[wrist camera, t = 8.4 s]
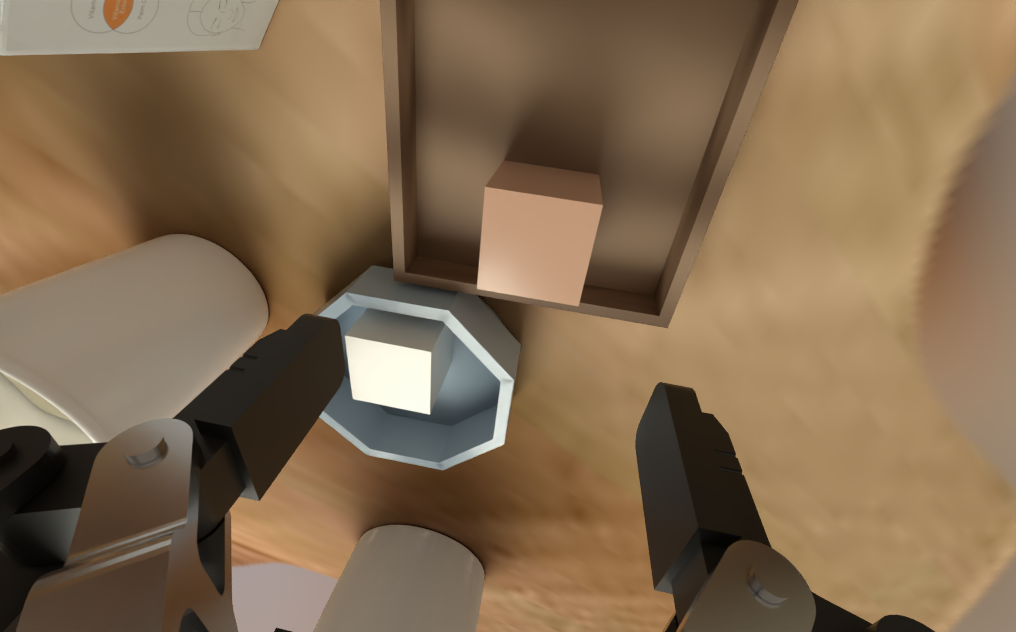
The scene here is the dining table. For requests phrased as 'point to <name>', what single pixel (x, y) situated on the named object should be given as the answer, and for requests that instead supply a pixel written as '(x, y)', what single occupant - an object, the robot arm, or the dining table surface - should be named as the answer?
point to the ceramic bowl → (465, 391)
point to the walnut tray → (571, 128)
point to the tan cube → (538, 231)
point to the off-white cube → (398, 359)
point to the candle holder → (124, 337)
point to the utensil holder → (406, 585)
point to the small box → (131, 25)
